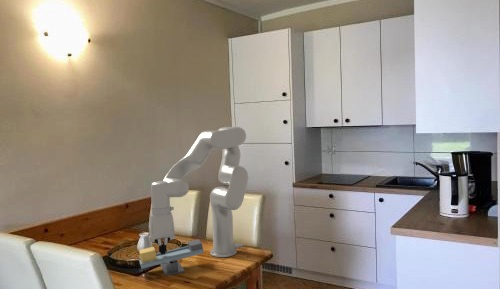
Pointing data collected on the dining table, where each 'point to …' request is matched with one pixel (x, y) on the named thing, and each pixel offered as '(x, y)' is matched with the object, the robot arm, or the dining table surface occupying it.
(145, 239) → the flask
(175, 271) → the fulcrum
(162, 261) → the beam
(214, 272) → the dining table surface
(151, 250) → the block
